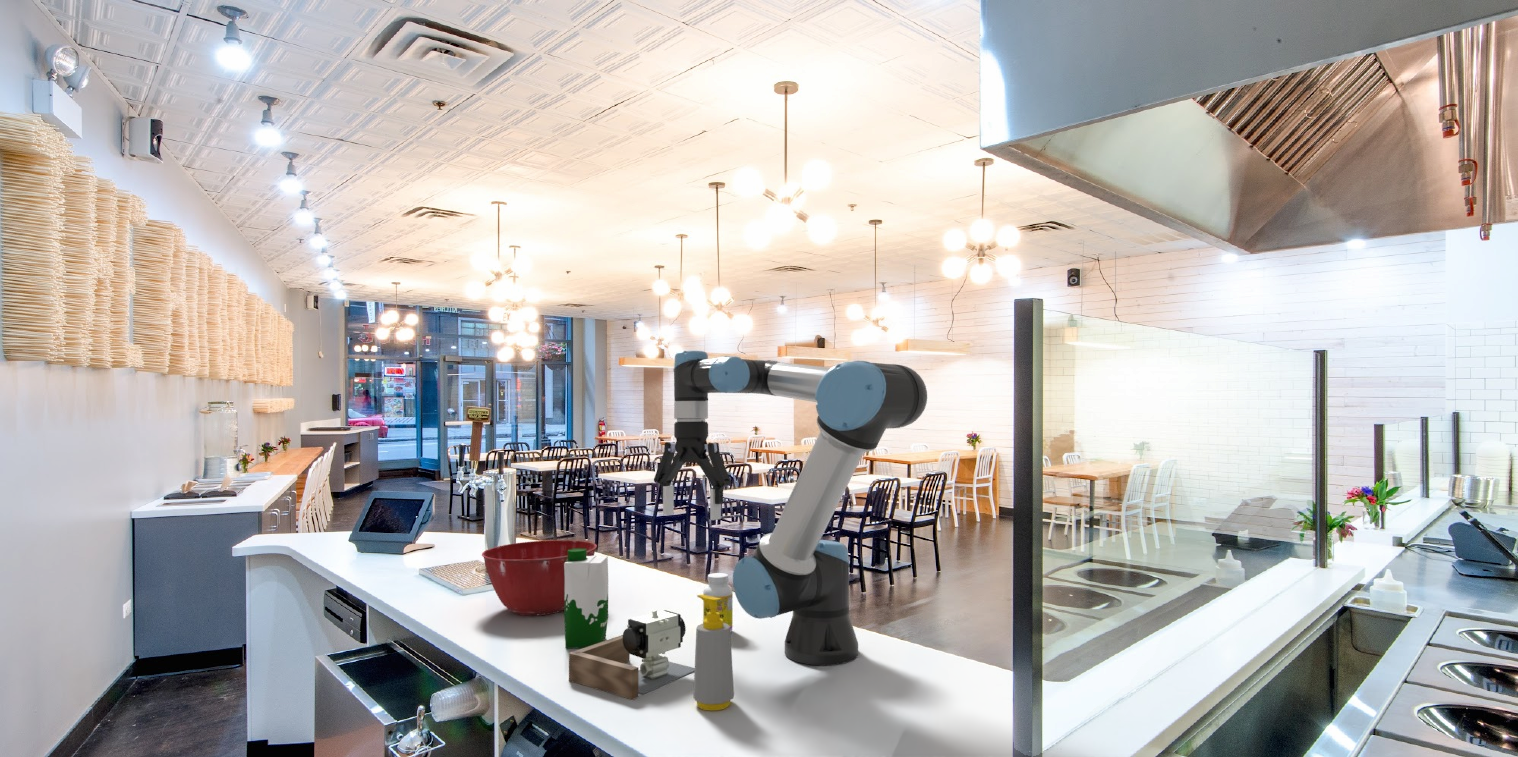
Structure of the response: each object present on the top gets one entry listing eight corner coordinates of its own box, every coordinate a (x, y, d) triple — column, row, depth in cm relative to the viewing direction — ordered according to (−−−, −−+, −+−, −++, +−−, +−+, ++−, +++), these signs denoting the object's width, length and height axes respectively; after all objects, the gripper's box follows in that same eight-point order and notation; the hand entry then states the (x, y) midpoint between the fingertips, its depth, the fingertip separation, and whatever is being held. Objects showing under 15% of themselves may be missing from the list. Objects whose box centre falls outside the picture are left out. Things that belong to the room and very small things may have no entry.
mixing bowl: (455, 619, 176) (456, 555, 177) (525, 592, 204) (526, 536, 204) (557, 628, 168) (557, 561, 169) (616, 598, 195) (616, 541, 196)
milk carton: (570, 636, 161) (571, 546, 162) (611, 636, 161) (611, 545, 162) (559, 649, 152) (560, 553, 154) (602, 649, 153) (603, 553, 154)
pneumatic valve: (621, 680, 133) (621, 614, 134) (670, 664, 142) (670, 602, 143) (639, 688, 130) (640, 620, 130) (689, 671, 138) (689, 607, 139)
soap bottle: (712, 693, 128) (711, 590, 129) (742, 702, 123) (741, 595, 124) (684, 705, 122) (684, 597, 123) (714, 715, 118) (714, 604, 119)
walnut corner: (685, 675, 137) (685, 648, 137) (631, 699, 125) (631, 669, 125) (623, 659, 146) (623, 634, 146) (568, 680, 134) (568, 652, 135)
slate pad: (697, 669, 140) (697, 668, 140) (643, 694, 127) (643, 693, 127) (663, 660, 145) (663, 659, 145) (607, 683, 132) (607, 682, 132)
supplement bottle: (698, 634, 162) (697, 576, 163) (711, 626, 168) (710, 570, 169) (725, 637, 160) (724, 579, 160) (737, 629, 166) (737, 572, 167)
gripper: (746, 420, 157) (747, 519, 155) (661, 420, 171) (661, 511, 170) (725, 420, 151) (725, 523, 149) (638, 421, 165) (638, 514, 164)
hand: (691, 517), depth 160 cm, fingers open, 13 cm apart
